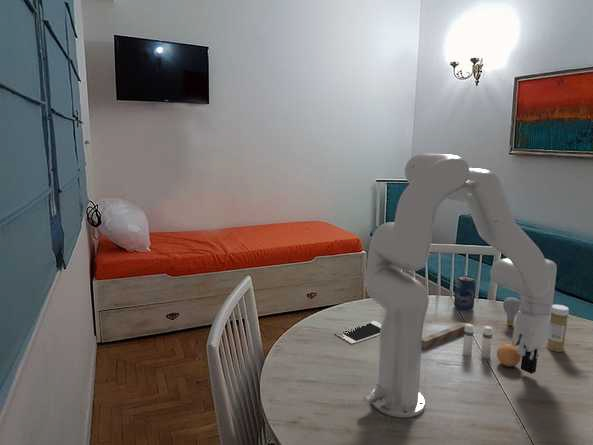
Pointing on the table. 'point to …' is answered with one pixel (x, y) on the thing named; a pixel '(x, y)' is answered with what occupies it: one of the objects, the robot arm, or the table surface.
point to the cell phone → (363, 332)
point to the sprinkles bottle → (557, 328)
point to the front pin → (486, 342)
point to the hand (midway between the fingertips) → (528, 370)
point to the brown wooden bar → (443, 336)
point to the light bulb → (511, 309)
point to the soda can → (464, 293)
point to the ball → (508, 355)
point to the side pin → (468, 339)
